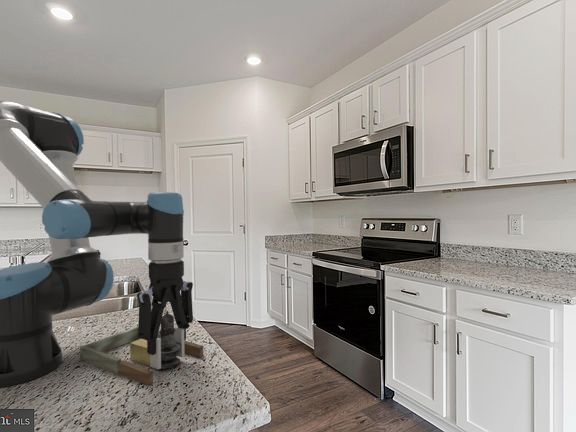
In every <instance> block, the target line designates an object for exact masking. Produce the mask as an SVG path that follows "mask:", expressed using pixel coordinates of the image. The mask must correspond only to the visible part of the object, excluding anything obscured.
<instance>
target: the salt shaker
mask: <svg viewBox="0 0 576 432" xmlns="http://www.w3.org/2000/svg"><path fill="white" fill-rule="evenodd" d="M175 331H176V329H175V318H174V315H172V314H170V312H169V311H168V310H167V311H166V312H165V314H163V315H162V319H161V324H160V329H159V333H160V334H161V368H160V369H171V368H173V367H176V366H178V365H179V364H180V362H181V359H180V357H179V358H178V356H177V355H178V354H179V351H180V348H181V344H180V343H177V342H175V338H174V332H175Z"/></svg>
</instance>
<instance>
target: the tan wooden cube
mask: <svg viewBox="0 0 576 432" xmlns="http://www.w3.org/2000/svg"><path fill="white" fill-rule="evenodd" d="M140 364H142V365H146V366H148V367H150V354H148V352H147V344H145V345H142V346H141V363H140Z"/></svg>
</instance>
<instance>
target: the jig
mask: <svg viewBox="0 0 576 432" xmlns="http://www.w3.org/2000/svg"><path fill="white" fill-rule="evenodd" d="M157 338H160V339H161V334H160V333H158V337H157ZM139 339H141V338H139V337H138V326H136V327H134V328H131V329H127V330H125V331H122V332H119V333H116V334H113V335H110V336H107V337H105V338H101V339H98V340H96V341H93V342H90V343H87V344H84V345H82V346H79V356H80V360H81V361H84V362H86V363H88V364H91V365H93V366H96V367H99V368H101V369H103V370H106V371H108V372H110V373H113V374H115V375H121V376H124V377H126V378H128V379H130V380H133V381H134V382H137V381H138V383H140V384H143V385H145V386H147V385H149V386H150V384H151V385H153V384H154V371H153V370H151V369H148V368H145V367H143V366H140V365H138V364H135V363H132V362H129V361H126V360H122V358H120V357H118V356H117V357H116V356H115V355H111V354H109V353H107V351H110V350H112V349H115V348H118V347H121V346H123V345H125V344H128V343H131V342H134V341H136V340H139ZM105 352H106V353H105ZM184 355H189V356H193V357H195V358H199V359H200V358H203V357H204V345H201V344H197V343H194V342H191V341H187V340H185V341H184ZM152 383H153V384H152Z"/></svg>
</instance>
